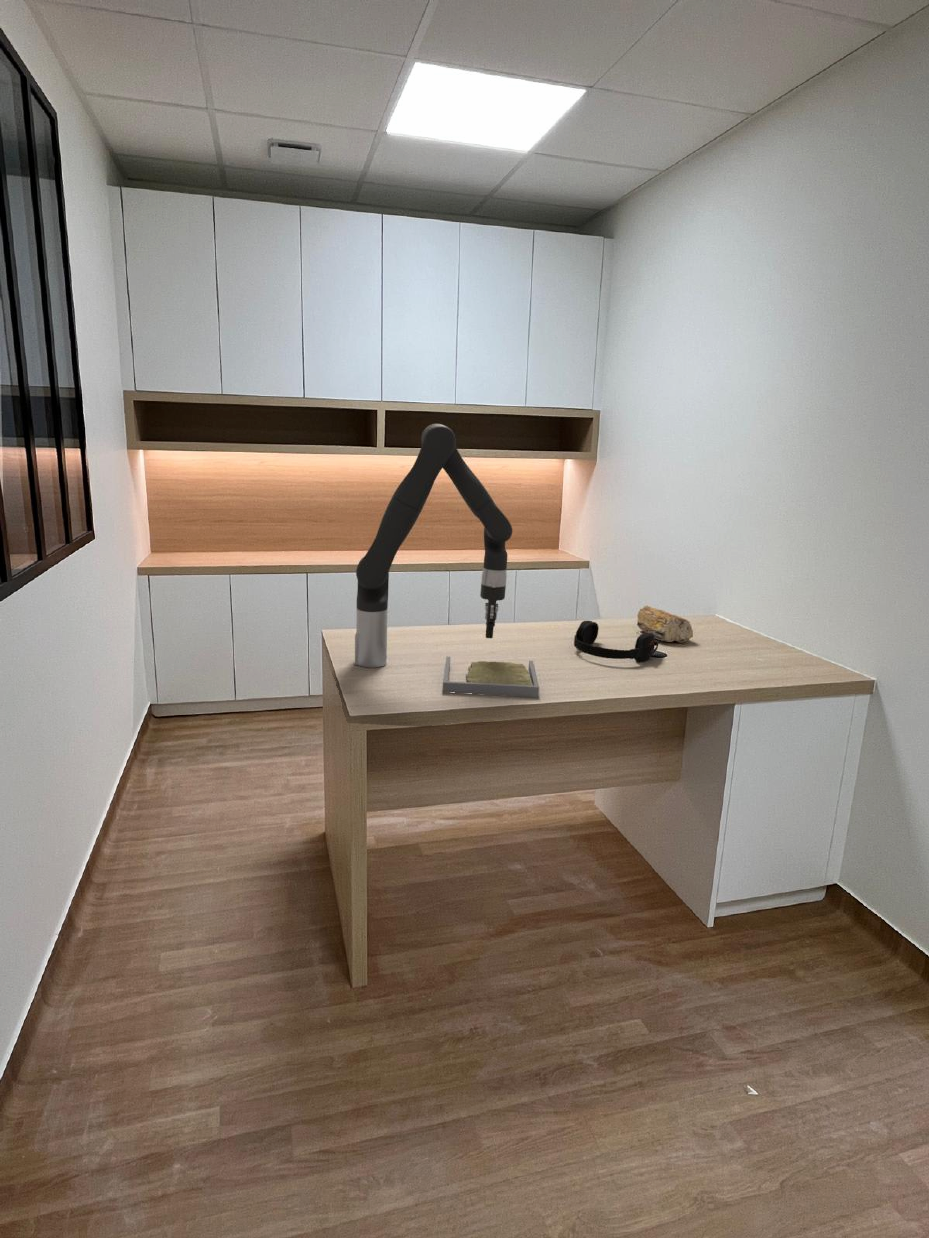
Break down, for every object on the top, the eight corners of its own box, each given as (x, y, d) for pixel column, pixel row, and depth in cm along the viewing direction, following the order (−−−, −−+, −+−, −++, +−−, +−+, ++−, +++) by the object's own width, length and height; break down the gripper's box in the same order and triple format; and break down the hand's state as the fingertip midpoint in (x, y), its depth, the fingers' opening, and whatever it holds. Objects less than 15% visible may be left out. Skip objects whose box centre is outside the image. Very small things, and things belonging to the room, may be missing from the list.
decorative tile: (524, 672, 225) (525, 661, 224) (533, 696, 206) (534, 684, 205) (463, 671, 224) (464, 659, 223) (466, 694, 205) (467, 682, 204)
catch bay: (442, 692, 204) (442, 682, 203) (446, 665, 226) (446, 656, 226) (538, 697, 204) (539, 687, 203) (532, 670, 226) (533, 660, 225)
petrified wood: (630, 629, 276) (638, 603, 274) (659, 635, 281) (666, 609, 279) (661, 642, 258) (669, 615, 256) (690, 648, 263) (698, 621, 261)
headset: (652, 646, 258) (655, 622, 256) (664, 670, 233) (667, 643, 230) (571, 640, 260) (573, 616, 258) (574, 663, 235) (576, 636, 233)
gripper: (481, 577, 231) (476, 630, 236) (481, 586, 218) (476, 642, 223) (505, 579, 231) (500, 632, 236) (506, 588, 218) (501, 644, 223)
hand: (489, 637), depth 229 cm, fingers closed
